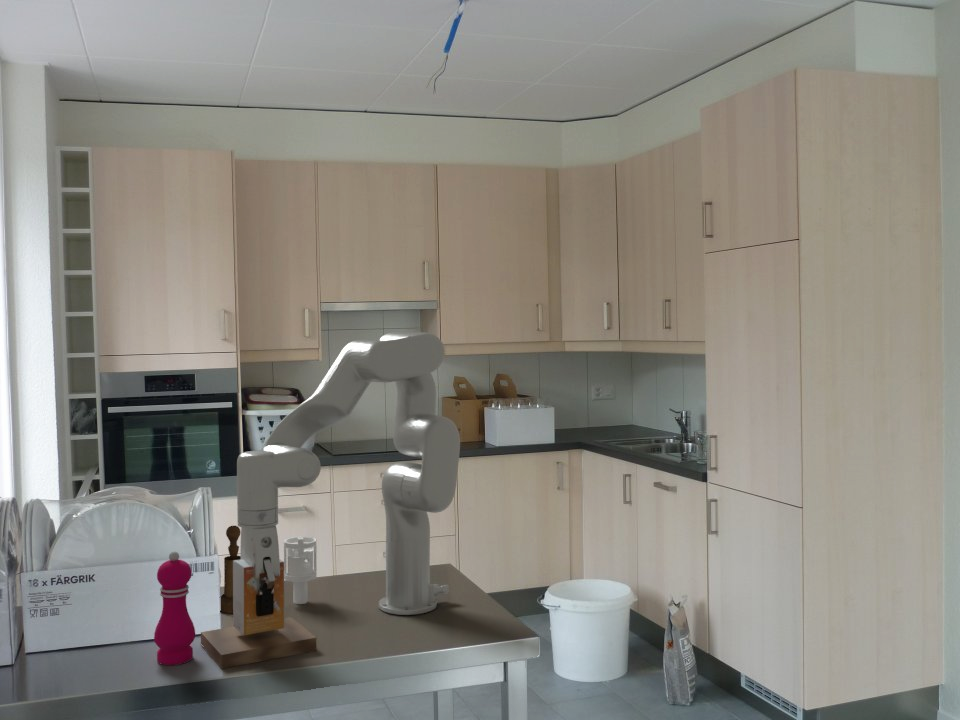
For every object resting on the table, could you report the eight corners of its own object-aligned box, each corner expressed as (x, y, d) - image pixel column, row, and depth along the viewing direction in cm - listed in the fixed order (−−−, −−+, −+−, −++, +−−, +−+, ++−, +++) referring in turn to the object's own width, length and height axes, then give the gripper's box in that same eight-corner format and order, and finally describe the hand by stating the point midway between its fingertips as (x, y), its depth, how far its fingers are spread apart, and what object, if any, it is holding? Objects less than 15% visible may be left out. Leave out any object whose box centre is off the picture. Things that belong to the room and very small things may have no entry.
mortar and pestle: (253, 610, 199) (253, 527, 198) (224, 615, 196) (223, 531, 195) (242, 602, 205) (242, 521, 204) (213, 607, 201) (213, 525, 200)
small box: (243, 636, 172) (243, 567, 171) (232, 627, 177) (231, 559, 176) (285, 628, 176) (284, 561, 175) (273, 619, 181) (272, 553, 181)
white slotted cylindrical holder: (284, 607, 201) (284, 539, 200) (283, 598, 208) (283, 532, 207) (317, 605, 202) (317, 538, 202) (315, 596, 209) (315, 530, 208)
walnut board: (290, 629, 187) (290, 616, 187) (316, 650, 175) (316, 637, 175) (200, 645, 178) (200, 632, 178) (221, 668, 166) (221, 655, 166)
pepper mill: (163, 651, 174) (161, 546, 173) (201, 652, 174) (200, 547, 173) (148, 666, 167) (146, 556, 166) (187, 666, 167) (186, 557, 166)
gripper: (292, 523, 170) (293, 619, 171) (262, 506, 185) (263, 594, 186) (252, 527, 166) (253, 626, 167) (225, 510, 181) (226, 600, 182)
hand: (258, 608), depth 176 cm, fingers closed on small box, 6 cm apart
